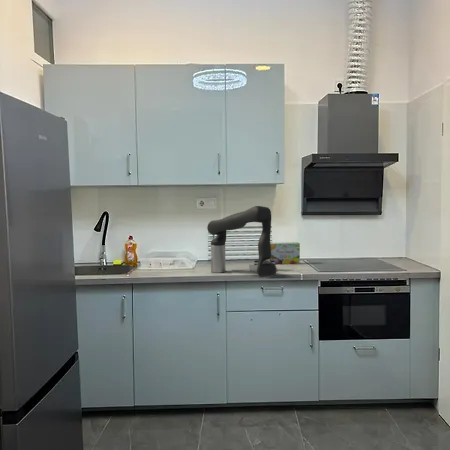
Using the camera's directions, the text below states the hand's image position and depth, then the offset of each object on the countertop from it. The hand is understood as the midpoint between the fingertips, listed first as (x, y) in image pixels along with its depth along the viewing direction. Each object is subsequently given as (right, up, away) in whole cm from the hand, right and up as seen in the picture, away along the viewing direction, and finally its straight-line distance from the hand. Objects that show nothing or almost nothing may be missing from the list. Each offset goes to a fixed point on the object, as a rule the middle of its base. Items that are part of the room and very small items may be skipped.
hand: (263, 260), depth 267 cm
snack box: (+18, -6, +36) cm, 41 cm away
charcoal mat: (+1, -7, +16) cm, 18 cm away
